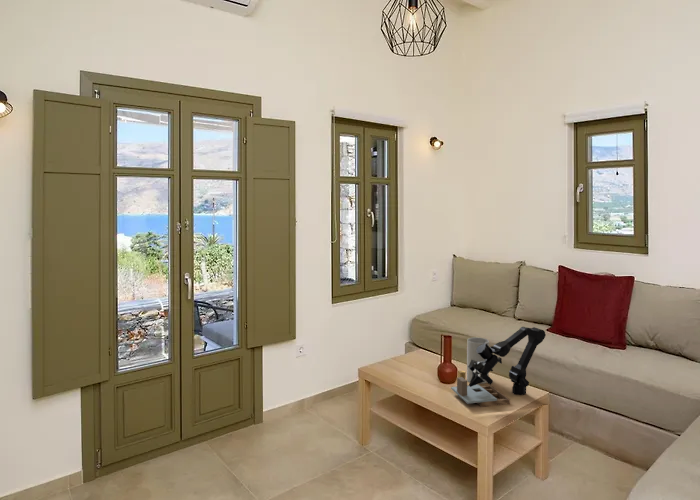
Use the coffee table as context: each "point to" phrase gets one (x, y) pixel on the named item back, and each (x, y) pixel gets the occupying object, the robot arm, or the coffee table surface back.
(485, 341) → the cylinder vase
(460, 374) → the golden wooden block
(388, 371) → the coffee table surface
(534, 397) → the coffee table surface
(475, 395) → the grey plate with hole
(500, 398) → the brown open tray
